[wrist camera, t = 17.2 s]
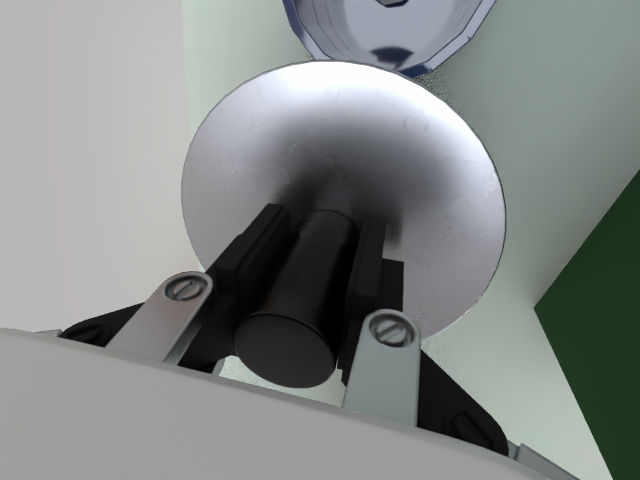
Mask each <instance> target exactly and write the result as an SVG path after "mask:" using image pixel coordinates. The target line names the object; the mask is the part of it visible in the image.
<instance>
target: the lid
mask: <svg viewBox="0 0 640 480" xmlns="http://www.w3.org/2000/svg"><path fill="white" fill-rule="evenodd" d="M181 183H182V184H181V202H182V210H183V217H184V221H185V225H186V229H187V233H188V236H189V239H190V241H191V244H192V246H193V249H194V251H195V253H196V255H197V257H198V259H199V261H200V263H201V265H202V266H203V268H204V269H205V271H207V269H208V268H209V267H210V266H211V265H212V264H213V263H214V261H215V260H216V259H217V258H218V257H219V256H220V255H221V253H222V252H223V251H224V250H225V249H226V248H227V247H228V245H229V244H230V243H231V242H232V241H233V240H234V239H235V237H236V236H237V235H239V234H242V233H243V232H244V231H245V229H246V228H247V227H248V226H249V225H250V224H251V222H252V221H253V220H254V219H255V218H256V217H257V215H258V214H259V213H260V212H261V211H262V210H263V208H264V207H265V206H266V205H267V204H268V203H272V204H278V205H284V206H285V210H289V211H290V236H289V238H288V240H287V241H286V243H285V245H284V246H283V248H282V249H281V251H280V253H279V254H278V256H277V258H276V259H275V261H274V263H273V264H272V266H271V268H270V269H269V271H268V273H267V274H266V276H265V277H264V279H263V281H262V282H261V284H260V286H259V287H258V289H257V291H256V292H255V294H254V296H253V297H252V299H251V301H250V302H249V304H248V306H247V307H246V309H245V310H244V312H243V314H242V315H241V317H240V319H239V320H238V322H237V324H236V325H235V327H234V330H233V335H232V342H233V347H234V349H235V352H236V354H237V356H238V357H239V358H240V360H241V361H242V362H243V363H244V365H245V366H246V367H247V368H249V369H250V370H251V371H252V372H253V373H255V374H256V375H258V376H259V377H261V378H263V379H265V380H267V381H269V382H271V383H274V384H277V385H280V386H284V387H289V388H310V387H314V386H318V385H320V384H322V383H324V382H325V381H327V380H328V379H329V378H330V377H331V375H332V374H333V372H334V370H335V367H336V363H337V359H338V354H339V350H340V345H341V341H342V323H343V314H344V306H345V299H346V293H347V288H348V283H349V279H350V275H351V271H352V267H353V263H354V259H355V255H356V252H357V248H358V244H359V240H360V236H361V232H362V228H363V224H364V222H369V223H370V220H371V219H377V220H384V221H387V223H386V231H385V239H384V247H383V255H382V258H385V259H391V260H397V261H403V262H404V287H403V313H404V314H406V315H407V316H409V317H411V318H412V319H413V320H414V321H415V322H416V323H417V325H418V327H419V329H420V332H421V341H423V340H425V339H427V338H430V337H432V336H434V335H436V334H438V333H439V332H441V331H443V330H444V329H446V328H448V327H449V326H451V325H452V324H453V323H455V322H456V321H457V320H459V319H460V318H461V317H462V316H464V315H465V314H466V313H467V312H468V311H469V310H470V309H471V308H472V306H473V305H474V304H475V303H476V302H477V301H478V300H479V298H480V297H481V296H482V294H483V293H484V291H485V290H486V289H487V287H488V286H489V284H490V282H491V280H492V278H493V276H494V274H495V272H496V270H497V267H498V264H499V261H500V258H501V255H502V252H503V248H504V242H505V235H506V204H505V199H504V193H503V188H502V184H501V181H500V178H499V175H498V172H497V170H496V167H495V164H494V162H493V160H492V158H491V156H490V155H489V153H488V151H487V149H486V147H485V145H484V144H483V142H482V140H481V139H480V137H479V136H478V135H477V133H476V132H475V131H474V130H473V128H472V127H471V126H470V125H469V123H468V122H467V121H466V119H465V118H464V117H463V116H462V115H461V114H460V113H459V112H458V111H457V110H456V109H455V108H454V107H452V106H451V105H450V104H449V103H448V102H447V101H446V100H445V99H444V98H442V97H441V96H439V95H438V94H436V93H435V92H434V91H432V90H431V89H429V88H428V87H426V86H425V85H423V84H422V83H420V82H418V81H416V80H414V79H412V78H409V77H407V76H405V75H403V74H401V73H399V72H397V71H394V70H391V69H387V68H384V67H381V66H378V65H374V64H371V63H365V62H358V61H352V60H345V59H316V60H310V61H304V62H297V63H291V64H287V65H284V66H281V67H278V68H275V69H272V70H269V71H266V72H263V73H261V74H259V75H257V76H255V77H253V78H251V79H249V80H247V81H246V82H244V83H242V84H241V85H239V86H238V87H237V88H235V89H234V90H233V91H231V92H230V93H229V94H227V95H226V96H225V97H224V98H223V99H222V100H221V101H220V102H219V103H218V104H217V105H216V106H215V107H214V108H213V109H212V110H211V111H210V112H209V114H208V115H207V117H206V118H205V119H204V121H203V122H202V124H201V125H200V127H199V128H198V130H197V132H196V134H195V136H194V138H193V140H192V142H191V144H190V147H189V150H188V153H187V157H186V160H185V163H184V169H183V175H182V182H181Z"/></svg>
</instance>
